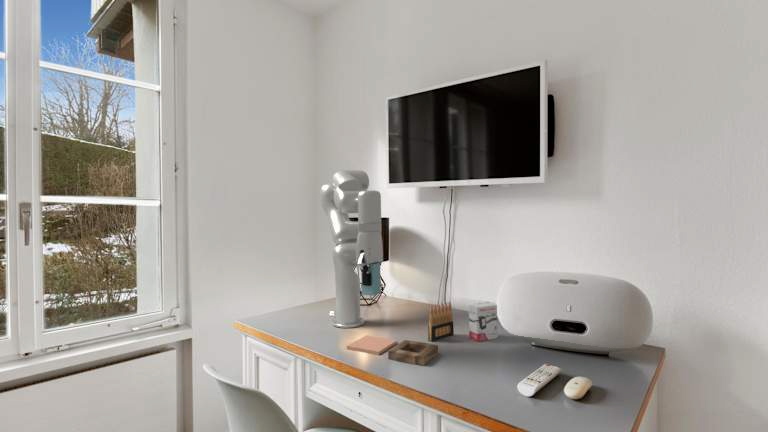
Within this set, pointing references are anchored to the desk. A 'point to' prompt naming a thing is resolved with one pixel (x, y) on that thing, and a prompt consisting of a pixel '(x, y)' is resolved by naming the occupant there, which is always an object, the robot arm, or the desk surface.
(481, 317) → the ink box
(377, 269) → the teal block
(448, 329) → the ammunition clip
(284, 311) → the desk surface
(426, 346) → the holder
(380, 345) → the tile
